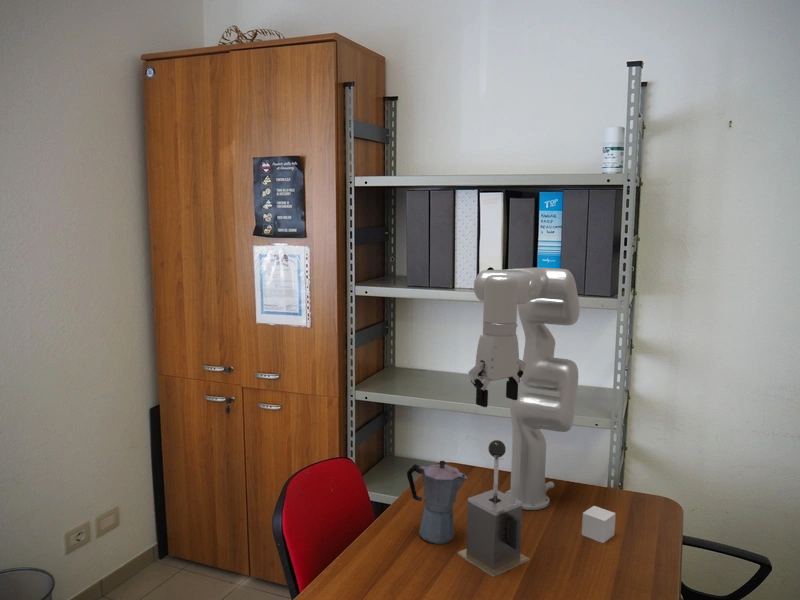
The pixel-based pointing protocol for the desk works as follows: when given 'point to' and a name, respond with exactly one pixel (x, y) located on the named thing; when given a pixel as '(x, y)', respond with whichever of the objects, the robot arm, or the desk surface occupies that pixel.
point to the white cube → (598, 524)
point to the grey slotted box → (494, 533)
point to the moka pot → (437, 500)
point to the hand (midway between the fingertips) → (496, 402)
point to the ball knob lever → (496, 463)
